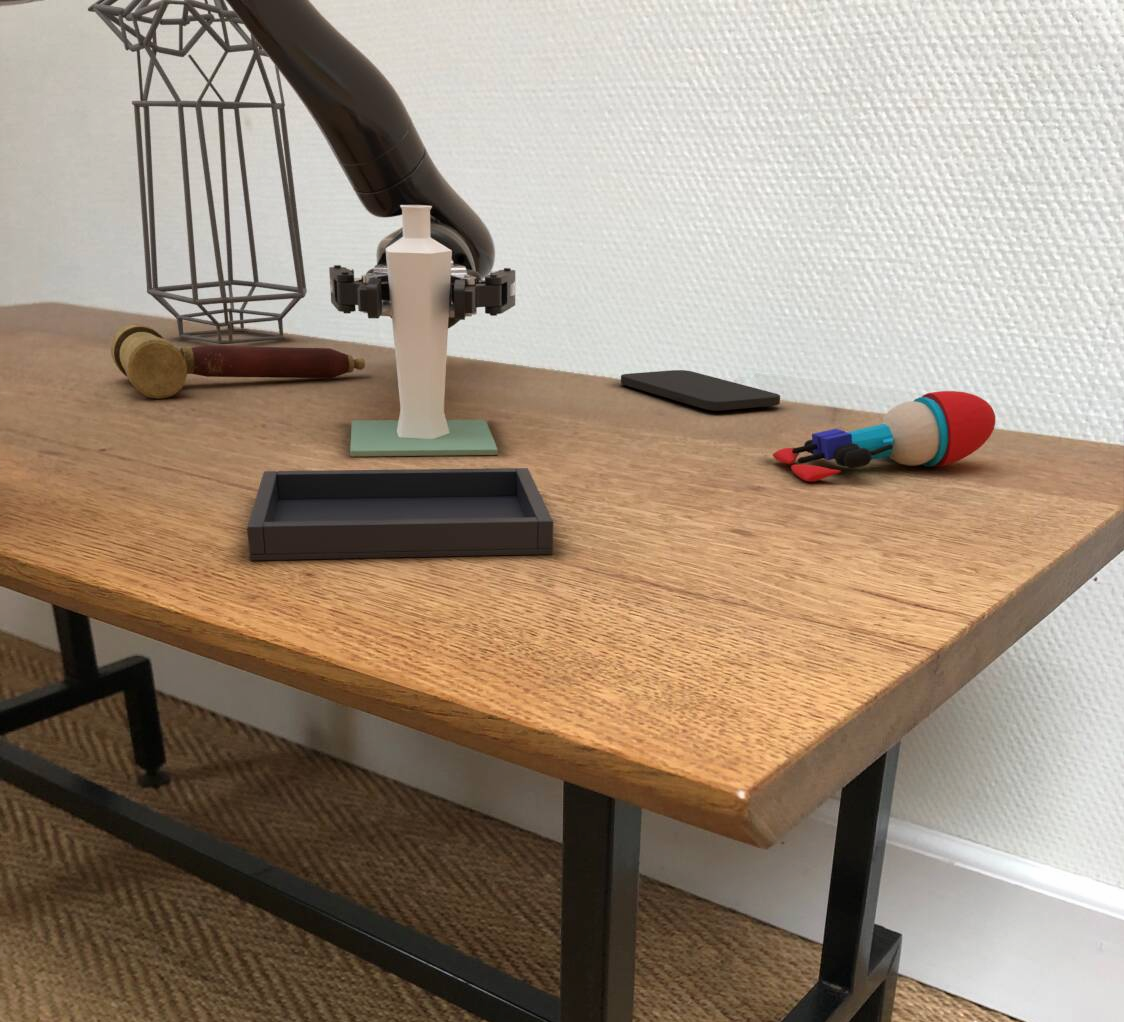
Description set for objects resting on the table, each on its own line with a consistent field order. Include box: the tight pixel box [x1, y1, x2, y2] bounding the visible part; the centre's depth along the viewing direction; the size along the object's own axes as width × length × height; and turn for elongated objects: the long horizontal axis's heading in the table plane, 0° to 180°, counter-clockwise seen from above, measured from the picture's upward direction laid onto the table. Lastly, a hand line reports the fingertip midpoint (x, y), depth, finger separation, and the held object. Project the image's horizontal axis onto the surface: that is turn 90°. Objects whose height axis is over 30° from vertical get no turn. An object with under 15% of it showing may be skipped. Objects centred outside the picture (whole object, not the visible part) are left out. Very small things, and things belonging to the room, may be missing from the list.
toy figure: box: [772, 390, 996, 483], centre depth 85 cm, size 8×5×15 cm
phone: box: [620, 369, 781, 412], centre depth 108 cm, size 7×1×15 cm
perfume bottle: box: [386, 205, 452, 439], centre depth 87 cm, size 5×4×15 cm
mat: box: [349, 419, 499, 458], centre depth 90 cm, size 10×10×1 cm
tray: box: [246, 467, 554, 562], centre depth 70 cm, size 16×12×2 cm
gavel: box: [110, 323, 366, 400], centre depth 108 cm, size 21×5×10 cm
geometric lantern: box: [87, 0, 308, 345], centre depth 123 cm, size 16×16×35 cm
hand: (416, 302), depth 84 cm, fingers open, 5 cm apart
